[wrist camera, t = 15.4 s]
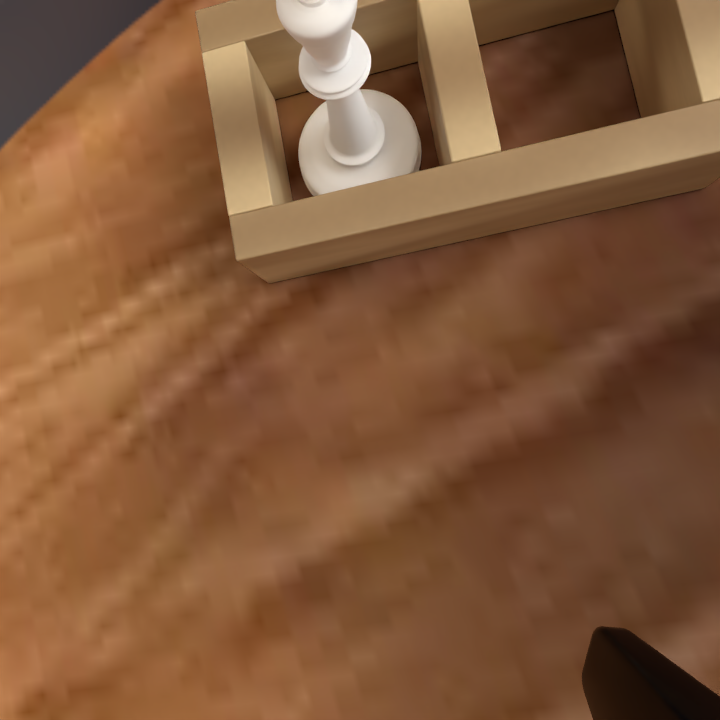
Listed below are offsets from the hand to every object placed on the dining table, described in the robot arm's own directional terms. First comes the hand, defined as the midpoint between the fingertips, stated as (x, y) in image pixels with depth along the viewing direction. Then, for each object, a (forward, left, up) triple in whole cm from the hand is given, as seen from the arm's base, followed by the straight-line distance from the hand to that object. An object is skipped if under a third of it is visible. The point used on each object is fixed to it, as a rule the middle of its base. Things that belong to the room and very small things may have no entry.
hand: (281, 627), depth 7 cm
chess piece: (+6, -11, -12) cm, 18 cm away
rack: (+3, -14, -12) cm, 19 cm away
